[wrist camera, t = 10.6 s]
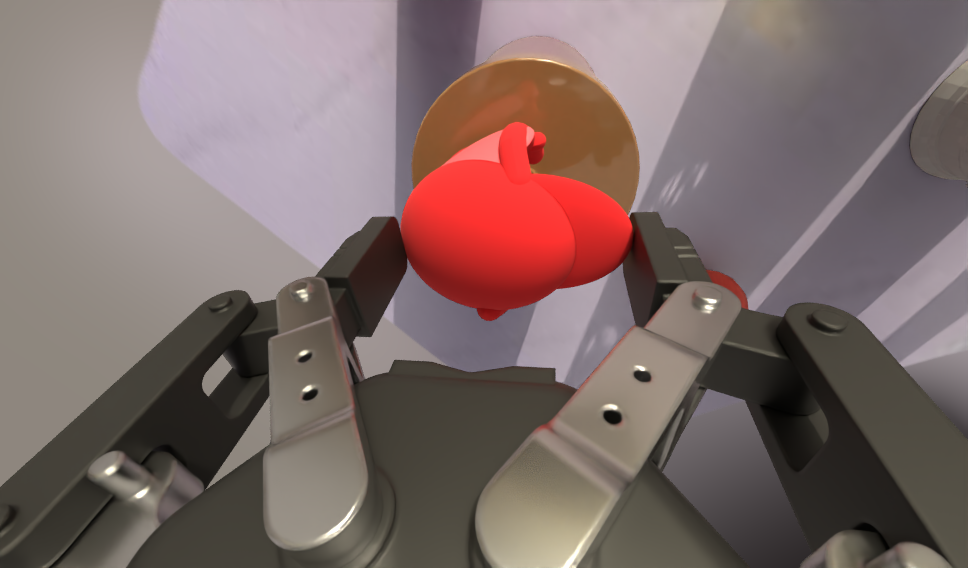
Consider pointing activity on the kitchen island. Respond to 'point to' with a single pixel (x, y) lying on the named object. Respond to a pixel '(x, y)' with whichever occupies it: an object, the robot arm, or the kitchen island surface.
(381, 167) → the kitchen island surface
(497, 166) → the cap
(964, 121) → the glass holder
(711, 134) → the kitchen island surface
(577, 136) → the jar
